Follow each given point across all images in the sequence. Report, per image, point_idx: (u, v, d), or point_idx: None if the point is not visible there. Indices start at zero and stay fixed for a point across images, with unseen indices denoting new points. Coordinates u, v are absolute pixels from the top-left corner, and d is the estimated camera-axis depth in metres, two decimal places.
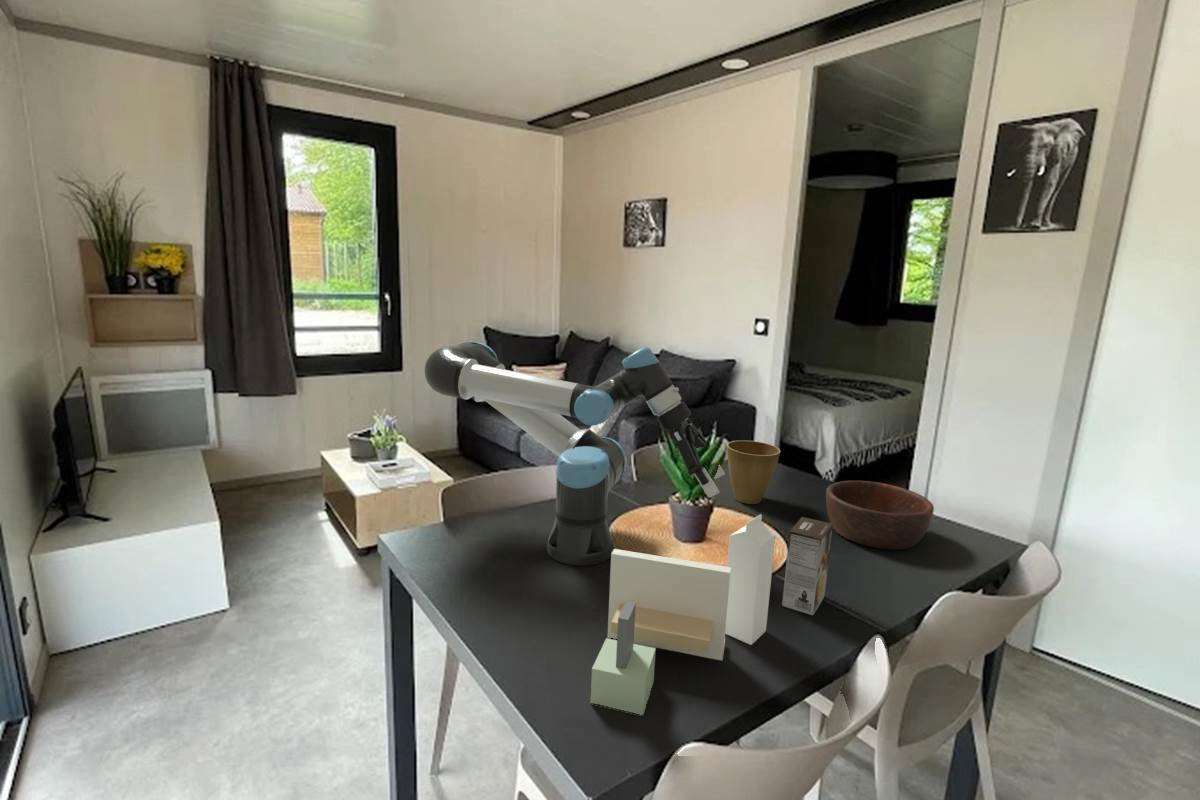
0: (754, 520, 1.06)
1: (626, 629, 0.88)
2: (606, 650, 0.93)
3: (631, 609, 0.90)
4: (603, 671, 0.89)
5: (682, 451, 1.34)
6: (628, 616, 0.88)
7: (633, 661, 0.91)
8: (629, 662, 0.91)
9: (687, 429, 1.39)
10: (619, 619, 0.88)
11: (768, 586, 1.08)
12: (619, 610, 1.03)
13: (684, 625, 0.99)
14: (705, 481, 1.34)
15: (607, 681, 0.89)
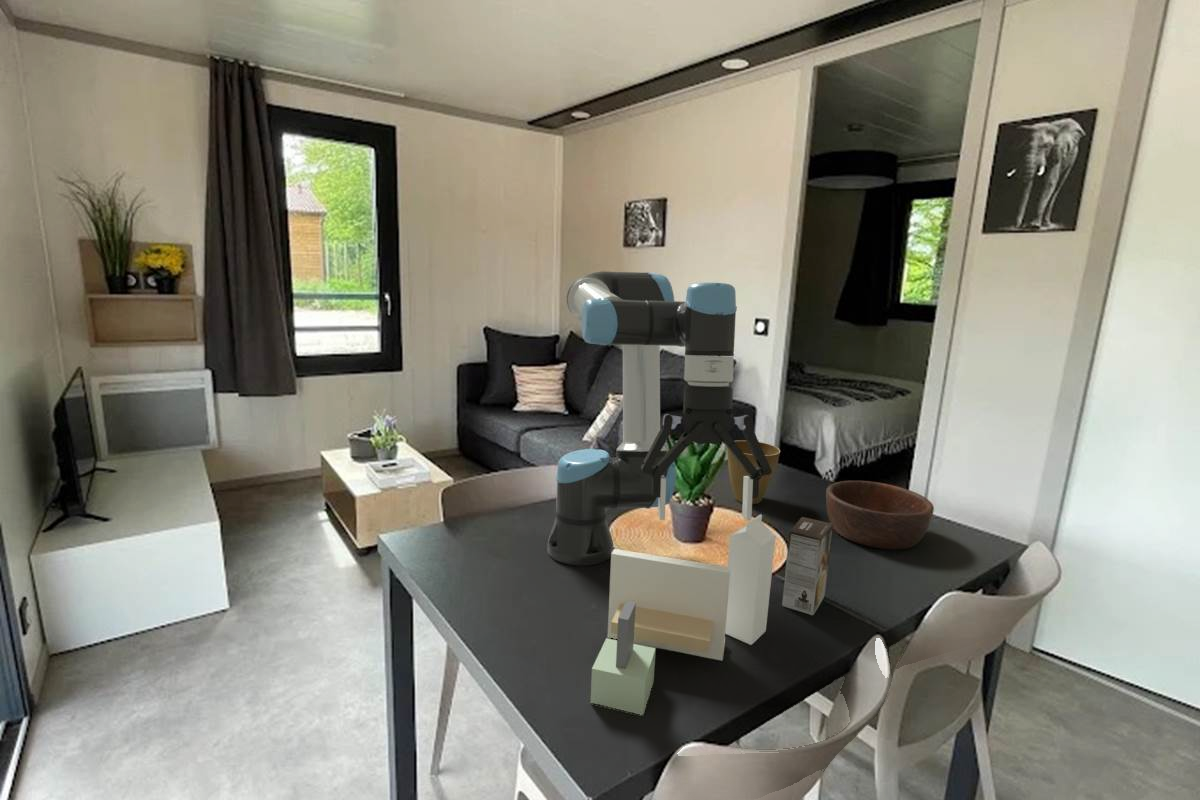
0: (754, 520, 1.06)
1: (626, 629, 0.88)
2: (606, 650, 0.93)
3: (631, 609, 0.90)
4: (603, 671, 0.89)
5: (654, 441, 0.95)
6: (628, 616, 0.88)
7: (633, 661, 0.91)
8: (629, 662, 0.91)
9: (697, 424, 0.93)
10: (619, 619, 0.88)
11: (768, 586, 1.08)
12: (619, 610, 1.03)
13: (684, 625, 0.99)
14: (652, 493, 0.95)
15: (607, 681, 0.89)
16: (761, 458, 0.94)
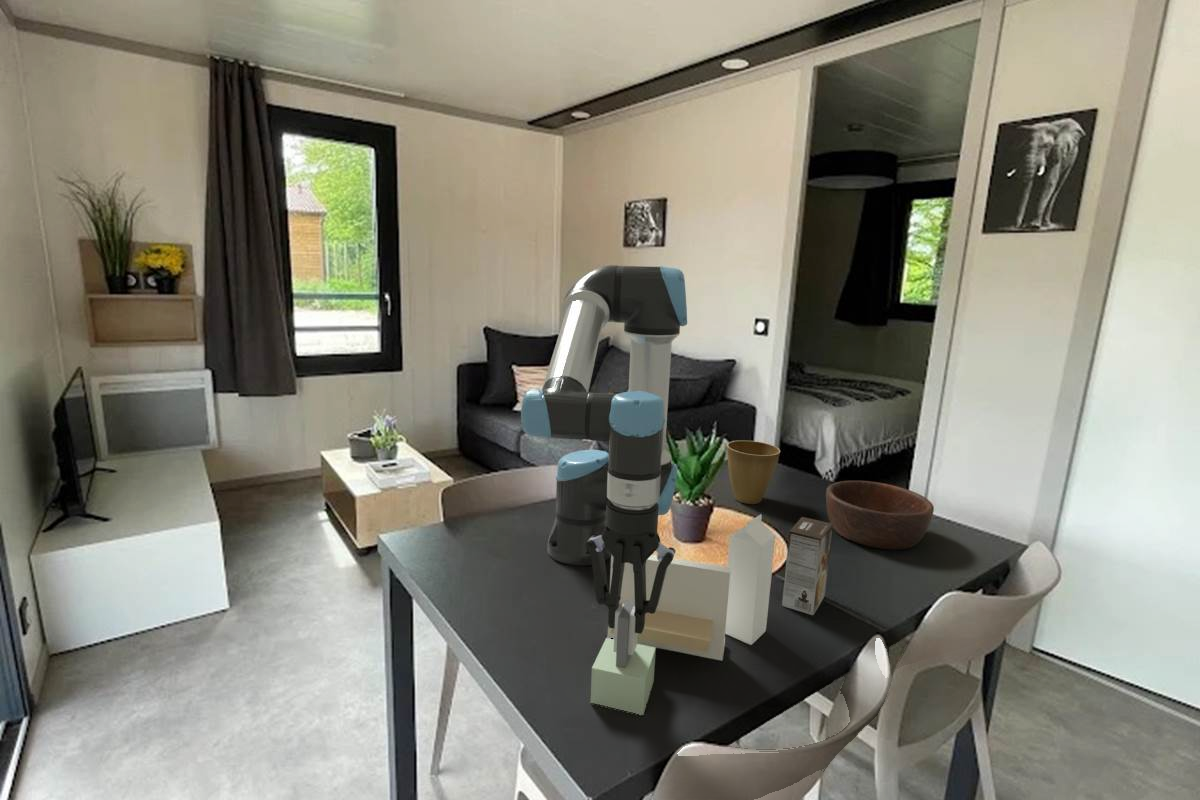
0: (754, 520, 1.06)
1: (626, 628, 0.88)
2: (606, 649, 0.93)
3: (631, 608, 0.90)
4: (603, 670, 0.89)
5: None
6: (628, 615, 0.88)
7: (633, 660, 0.91)
8: (629, 661, 0.91)
9: (615, 545, 0.87)
10: (619, 618, 0.88)
11: (768, 586, 1.08)
12: None
13: (684, 625, 0.99)
14: None
15: (607, 680, 0.89)
16: (654, 596, 0.87)
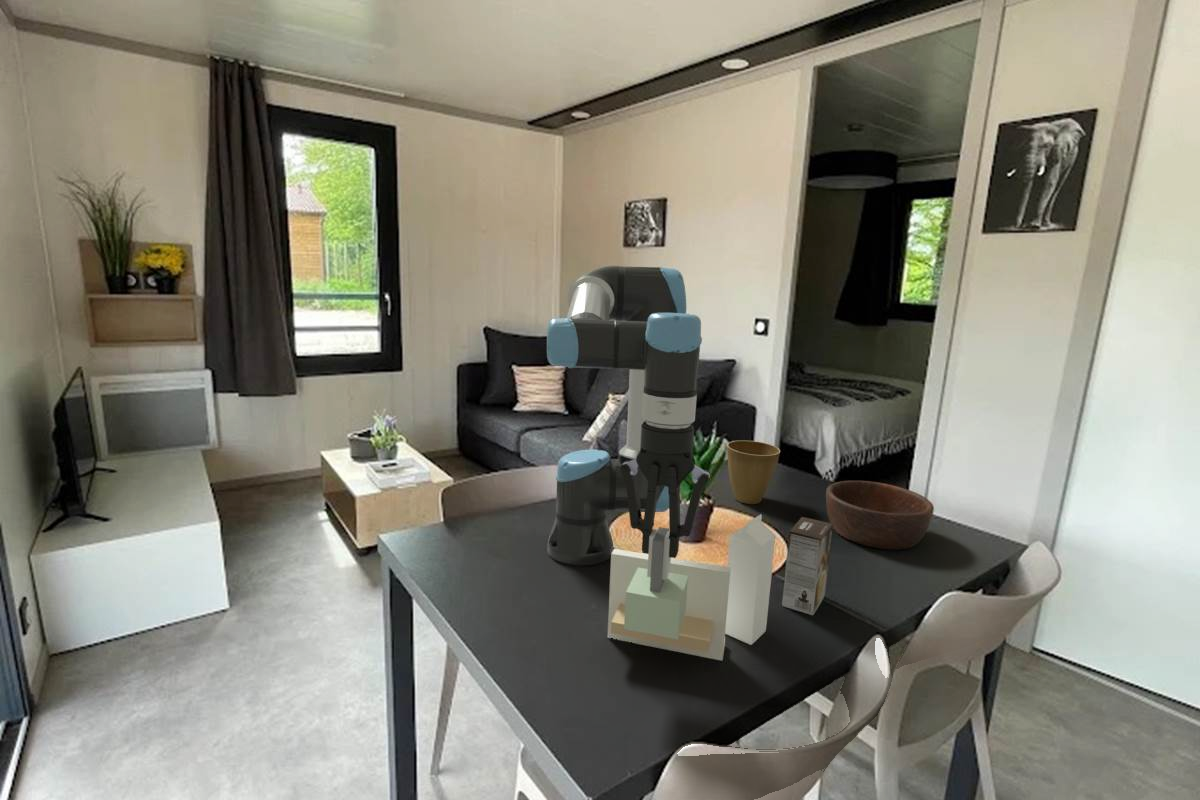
0: (754, 520, 1.06)
1: (661, 552, 0.88)
2: (639, 577, 0.93)
3: (665, 533, 0.90)
4: (637, 594, 0.88)
5: None
6: (662, 539, 0.88)
7: (667, 586, 0.91)
8: (663, 587, 0.90)
9: (650, 467, 0.87)
10: (654, 541, 0.88)
11: (768, 586, 1.08)
12: (619, 610, 1.03)
13: (684, 625, 0.99)
14: None
15: (642, 604, 0.88)
16: (689, 518, 0.87)
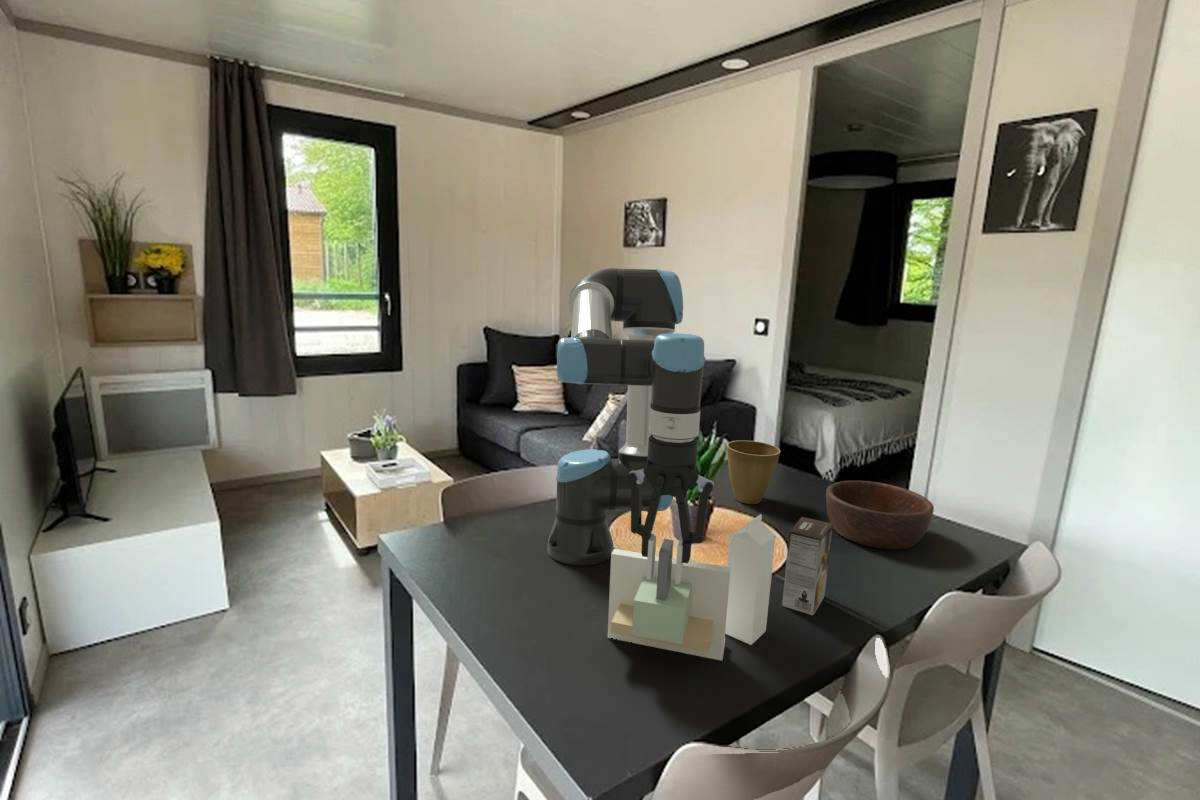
0: (754, 520, 1.06)
1: (666, 562, 0.94)
2: (645, 585, 0.99)
3: (670, 545, 0.96)
4: (645, 602, 0.94)
5: None
6: (668, 550, 0.94)
7: (672, 594, 0.97)
8: (668, 595, 0.96)
9: (656, 478, 0.93)
10: (660, 553, 0.94)
11: (768, 586, 1.08)
12: (619, 610, 1.03)
13: None
14: None
15: (649, 612, 0.94)
16: (699, 525, 0.92)
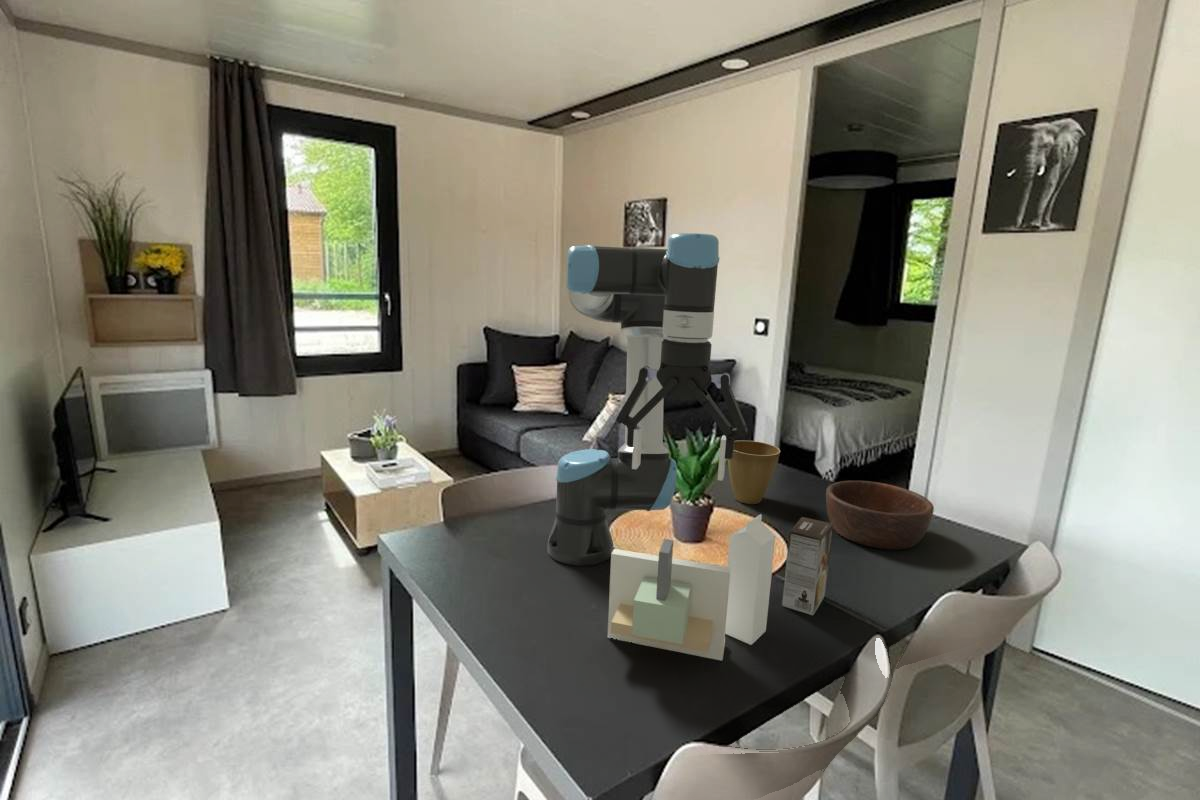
0: (754, 520, 1.06)
1: (666, 562, 0.94)
2: (645, 585, 0.99)
3: (670, 545, 0.96)
4: (645, 602, 0.94)
5: None
6: (668, 550, 0.94)
7: (672, 594, 0.97)
8: (668, 595, 0.96)
9: (670, 379, 0.92)
10: (660, 553, 0.94)
11: (768, 586, 1.08)
12: (619, 610, 1.03)
13: None
14: None
15: (649, 612, 0.94)
16: (736, 419, 0.91)
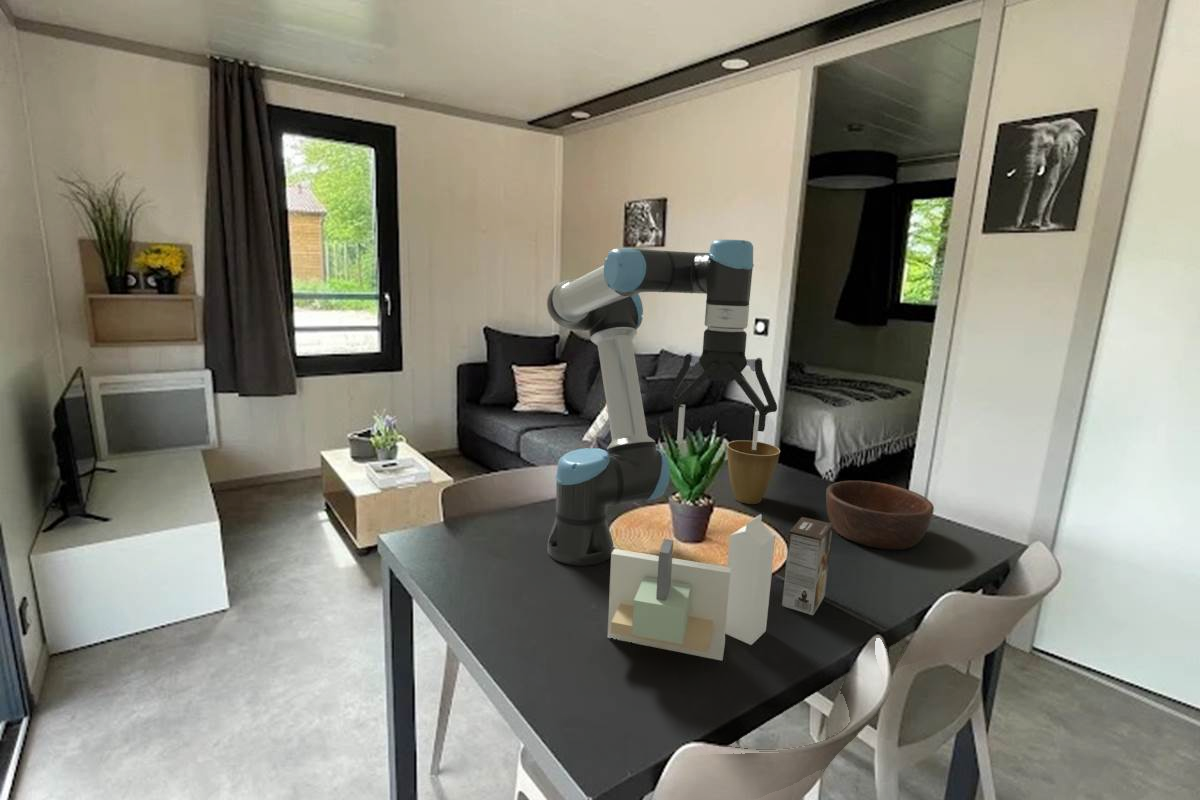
0: (754, 520, 1.06)
1: (666, 562, 0.94)
2: (645, 585, 0.99)
3: (670, 545, 0.96)
4: (645, 602, 0.94)
5: None
6: (668, 550, 0.94)
7: (672, 594, 0.97)
8: (668, 595, 0.96)
9: (711, 363, 1.08)
10: (660, 553, 0.94)
11: (768, 586, 1.08)
12: (619, 610, 1.03)
13: None
14: None
15: (649, 612, 0.94)
16: (768, 397, 1.07)
